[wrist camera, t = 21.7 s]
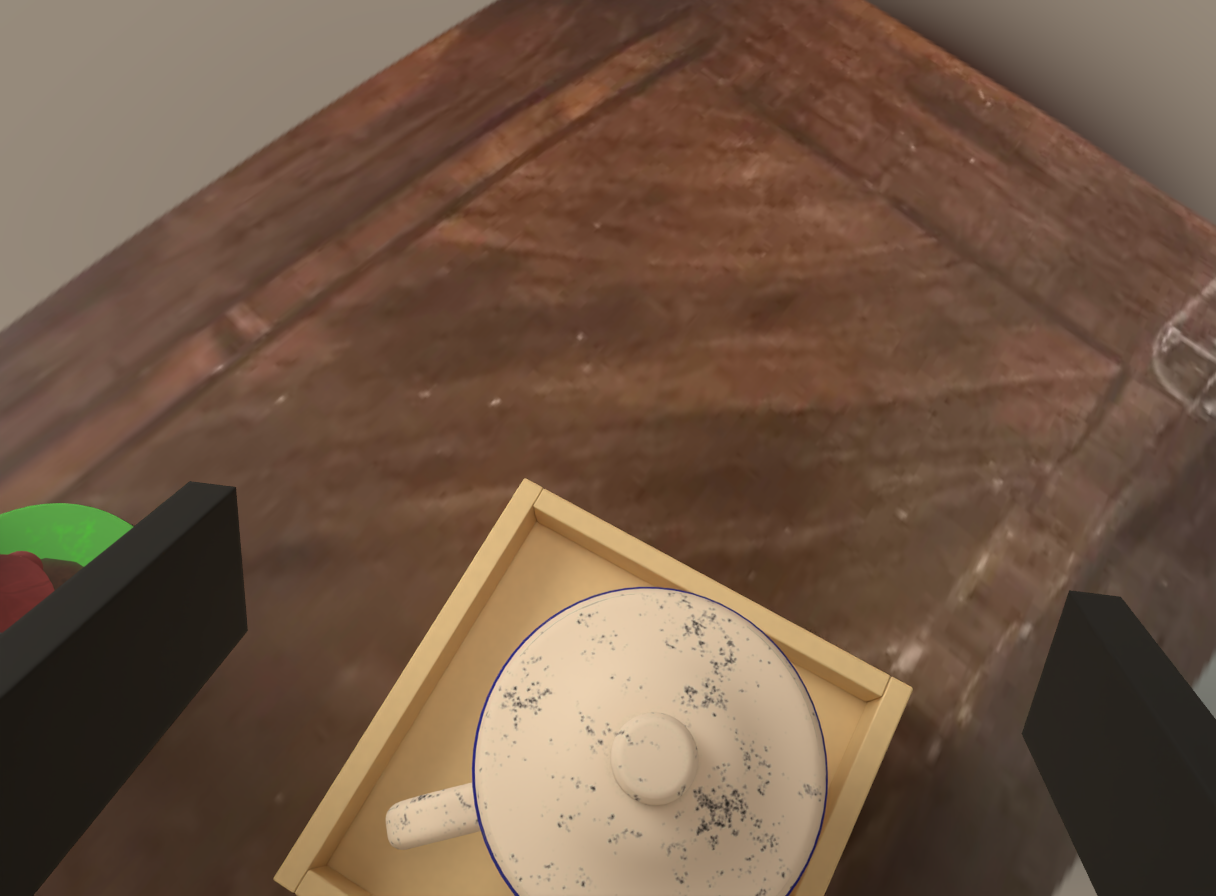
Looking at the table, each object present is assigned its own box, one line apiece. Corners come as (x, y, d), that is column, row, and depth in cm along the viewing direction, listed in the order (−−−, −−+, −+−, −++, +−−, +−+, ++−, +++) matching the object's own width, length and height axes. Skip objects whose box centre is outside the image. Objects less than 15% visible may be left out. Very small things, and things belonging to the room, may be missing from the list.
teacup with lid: (731, 611, 33) (790, 521, 22) (807, 880, 30) (918, 927, 19) (404, 688, 32) (298, 633, 21) (447, 974, 29) (349, 1080, 18)
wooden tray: (890, 696, 33) (914, 688, 30) (697, 1135, 28) (706, 1170, 26) (530, 500, 36) (524, 477, 33) (300, 872, 31) (272, 879, 28)
